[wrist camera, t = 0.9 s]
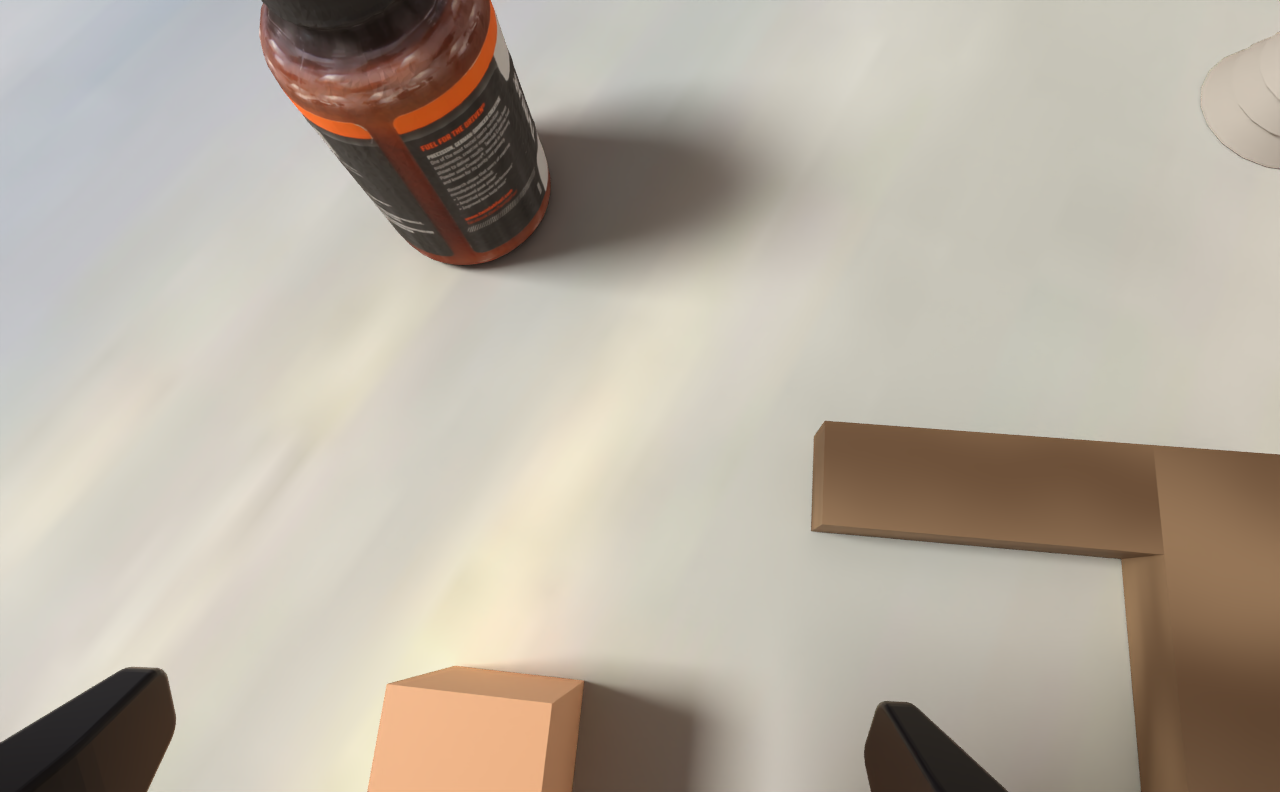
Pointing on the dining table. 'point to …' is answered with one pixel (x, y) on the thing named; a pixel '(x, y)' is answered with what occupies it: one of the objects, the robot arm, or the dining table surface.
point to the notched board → (1112, 528)
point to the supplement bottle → (418, 115)
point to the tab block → (477, 733)
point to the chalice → (1247, 102)
